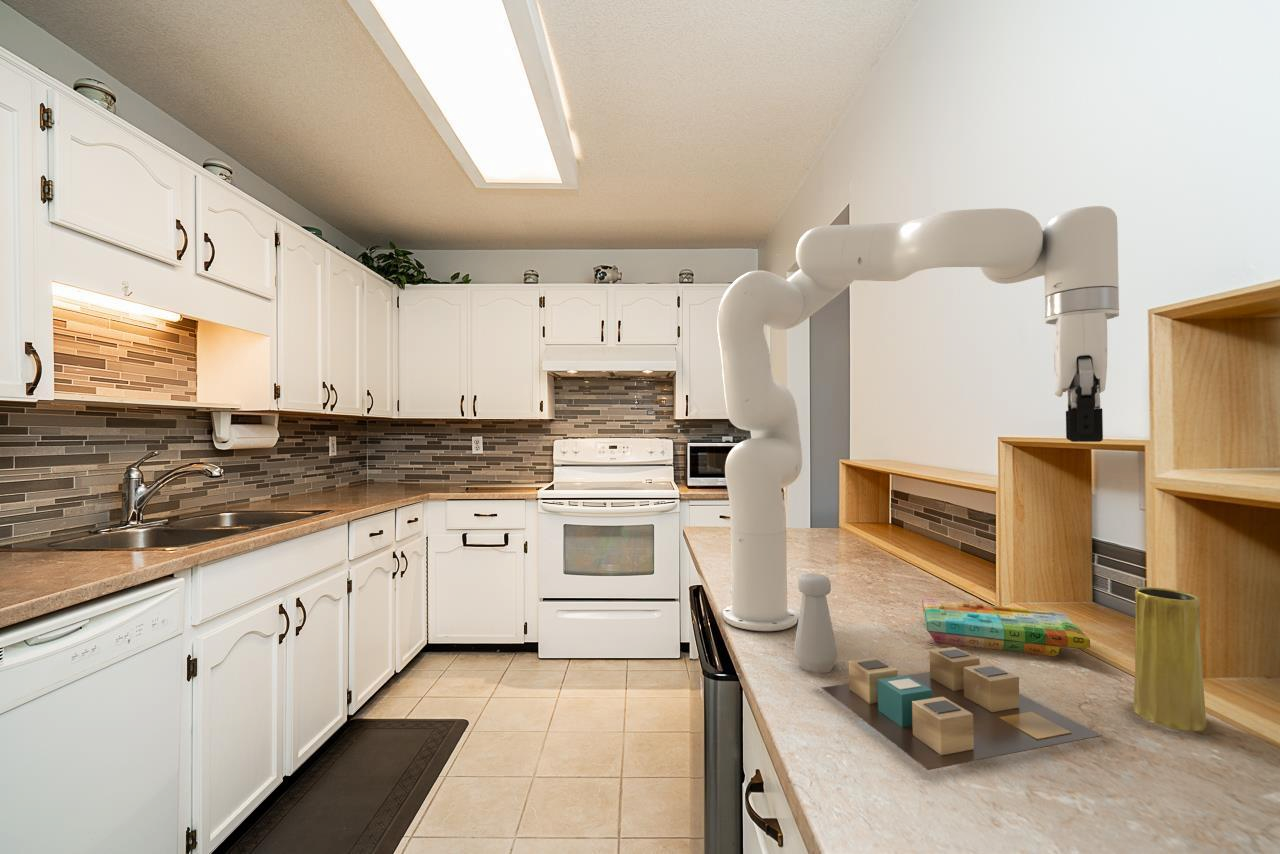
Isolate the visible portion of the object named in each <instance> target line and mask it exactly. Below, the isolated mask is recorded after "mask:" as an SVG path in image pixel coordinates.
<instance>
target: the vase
mask: <svg viewBox="0 0 1280 854" xmlns="http://www.w3.org/2000/svg"><path fill="white" fill-rule="evenodd" d="M1134 601H1135V602H1134V603H1135V605H1134V606H1135V610H1134V611H1135V623H1134V625H1135V626H1134V630H1135V631H1134V636H1135V637H1134V658H1135V659H1134V664H1135V665H1134V689H1133V707H1132V710H1133V712H1135V714H1137V715H1138V716H1139V717H1141V718H1143V719H1145V720H1147V721H1149V722H1152V723H1154V724H1156V725H1161V726H1165V727H1168V728H1171V729H1175V730H1180V731H1189V732H1196V731H1197V732H1198V731H1204V730H1205V729H1206V727H1207V726H1208V723H1207V716H1206V701H1205V690H1204V676H1203V661H1202V643H1201V614H1200V613H1201V610H1200V609H1201V608H1200V605H1201V603H1200V599H1199V597H1198V596H1197V595H1194V594H1193V593H1188V592H1185V591H1181V590H1178V589H1177V590H1175V589H1172V588H1171V589H1170V588H1163V587H1152V586H1151V587H1150V586H1144V587H1138V588H1136V589H1135V590H1134Z"/></svg>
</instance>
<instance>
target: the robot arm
mask: <svg viewBox="0 0 1280 854" xmlns="http://www.w3.org/2000/svg"><path fill="white" fill-rule="evenodd" d="M1118 238H1119V237H1118V217H1117V214H1116V212H1115V211H1114V209H1112V208H1110V207H1108V206H1102V205H1092V206H1083V207H1078V208H1073V209H1070V210H1067V211H1063V212H1061V213H1059V214H1057V215H1055V216H1053V217H1052V218H1050V219H1049V220H1048V221H1047V223H1046V224H1045V225H1044V226H1041V223H1040V222H1039V220H1038V219H1037V218H1036V217H1035V216H1034V215H1032V214H1031V213H1029V212H1026V211H1024V210H1021V209H1017V208H1016V209H1015V208H1008V207H1007V208H1005V207H1003V208H1002V207H999V208H998V207H997V208H995V207H994V208H974V209H973V208H972V209H969V208H968V209H955V210H948V211H943V212H937V213H933V214H930V215H926V216H922V217H918V218H914V219H911V220H907V221H904V222H903V221H902V222H887V223H886V222H885V223H860V224H859V223H857V224H856V223H855V224H829V225H820V226H816V227H813V228H811V229H809V230H807V231H806V232H805V233H804V234H803V235H802V236H801V237H800V238H799V240H798V243H797V245H796V248H795V259H796V264H797V266H798V268H799V269H798V270H797V271H796V272H794V273H793V274H792V275H791V276H790V277H788V278H787V279H786V278H784V277H782V276H780V275H778V274H776V273H775V272H771V271H768V270H761V269H760V270H751V271H748V272H745V273H744V274H742V275H740V276H739V277H738V278H736V279H735V280H734V281H733V282H732V284H730V285H729V287H728V288H727V289H726V291H725V292H724V294H723V296H722V298H721V300H720V303H719V306H718V310H717V316H716V326H717V327H716V329H717V337H718V344H719V352H720V359H721V373H722V382H723V383H722V384H723V393H724V402H725V411H726V416H727V418H728V420H729V422H730V423H731V424H732V425H733V426H734V427H735V428H737V429H739V430H743V431H748V432H749V431H750V438H747V439H745V440H742V441H740V442H738V443H737V444H735V446H733V447H732V448H731V450H730V451H729V452H728V454H727V457H726V459H725V464H724V477H725V483H726V488H727V493H728V495H727V496H728V502H729V503H728V504H729V519H730V521H729V523H730V525H729V526H730V572H731V573H730V577H731V578H730V579H731V581H730V583H731V585H730V587H731V589H730V593H729V594H731V604H730V605H728V606H726V607H725V608H724V609H723V610H722V618H723V620H724V621H725V622H726V623H727V624H728V625H731V626H733V627H735V628H739V629H742V630H747V631H754V632H755V631H756V632H776V631H785V630H787V629H790V628H793V627H794V626H795V625H796V624H797V623H798V615H797V613H796V612H795V611H794V610H793V609H791V608H789V607H788V555H787V553H788V551H787V518H786V507H785V502H784V496H783V491H782V489H784V488H787V487H788V486H790V485H792V484H793V483H794V482H795V481H796V480H797V479H798V478H799V476H800V474H801V471H802V466H803V449H802V443H801V435H800V434H801V433H800V426H799V425H800V424H799V416H798V409H797V404H796V400H795V398H794V396H793V394H792V392H791V391H790V389H789V388H788V387H787V386H785V385H784V384H783V383H781V382H780V381H776V380H774V378H773V373H772V372H773V371H772V365H771V354H770V348H769V344H768V342H767V338H766V335H765V331H764V330H765V329H764V326H767V327H770V328H771V329H775V330H779V331H781V330H789V329H793V328H794V327H797V326H799V325H801V324H802V323H803V322H805V321H806V320H808V319H809V318H811V316H813V315H814V314H815V313H817V312H818V311H819V310H821V309H822V308H823V307H825V306H826V305H827V304H828V303H830V302H832V300H834V299H835V298H836V297H837V296H839V295H840V294H841V293H842V292H844V291H845V290H846V289H847V288H849V286H850V285H851V284H852V283H853V282H854V281H872V282H899V281H902V280H904V279H906V278H908V277H909V276H911V275H913V274H915V273H917V272H921V271H924V270H929V269H939V268H980V270H981V272H982V274H983V275H984V276H985V277H986V278H987V279H988V280H989V281H991V282H993V283H996V284H1000V285H1001V284H1002V285H1003V284H1004V285H1007V284H1016V283H1021V282H1024V281H1028V280H1031V279H1035V278H1039V277H1043V276H1044V319H1045V321H1044V323H1045V324H1046V325H1052V326H1053V325H1054V339H1053V342H1054V343H1053V353H1054V354H1053V356H1054V357H1053V358H1054V361H1053V362H1054V395H1055V396H1057V397H1059V398H1062V396H1063V395H1064V394H1063V393H1066V392H1067V410H1065V437H1066V439H1067V441H1070V442H1072V443H1089V442H1090V443H1100V442H1102V441H1103V440H1104V424H1103V423H1104V422H1103V421H1104V419H1103V408H1102V407H1101V395H1100V394H1101V393H1103V392H1105V390H1106V384H1107V372H1108V320H1110V319H1114V318H1118V317H1119V316H1120V291H1119V290H1120V287H1119V244H1118V243H1119V241H1118Z"/></svg>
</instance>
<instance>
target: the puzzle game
mask: <svg viewBox="0 0 1280 854" xmlns="http://www.w3.org/2000/svg"><path fill="white" fill-rule="evenodd" d="M921 609H922V614H923V619H924V622H925V627H926V631H927V632H928V634H929V635H930V636H931V639H933V642H934V643H942V644H950V645H958V646H967V647H974V648H984V649H990V650H998V651H1008V652H1015V653H1016V652H1017V653H1023V654H1033V655H1041V656H1047V657H1048V656H1049V657H1050V656H1051V657H1056V656H1057V655H1059V654H1060V649H1061V648H1062V649H1074V650H1075V649H1076V650H1087V649H1089V648H1091V640H1090V638H1089V637H1088V636H1087V635H1086V634H1085V633H1084V632H1083V631H1082V630H1081V629H1080V628H1079V627H1078V625H1076V624H1075V623H1074V622H1073V621H1072V620H1071V619H1070V618H1069V616H1067V615H1066V614H1065V613H1064V612H1054V611H1047V610H1045V611H1044V610H1036V609H1027V608H1017V607H1010V606H1009V607H1007V606H997V605H989V604H983V603H979V602H976V601H973V600H968V601H967V602H966V601H962V602H959V601H953V600H952V601H950V600H941V599H931V598H925V599H922V600H921Z"/></svg>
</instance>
